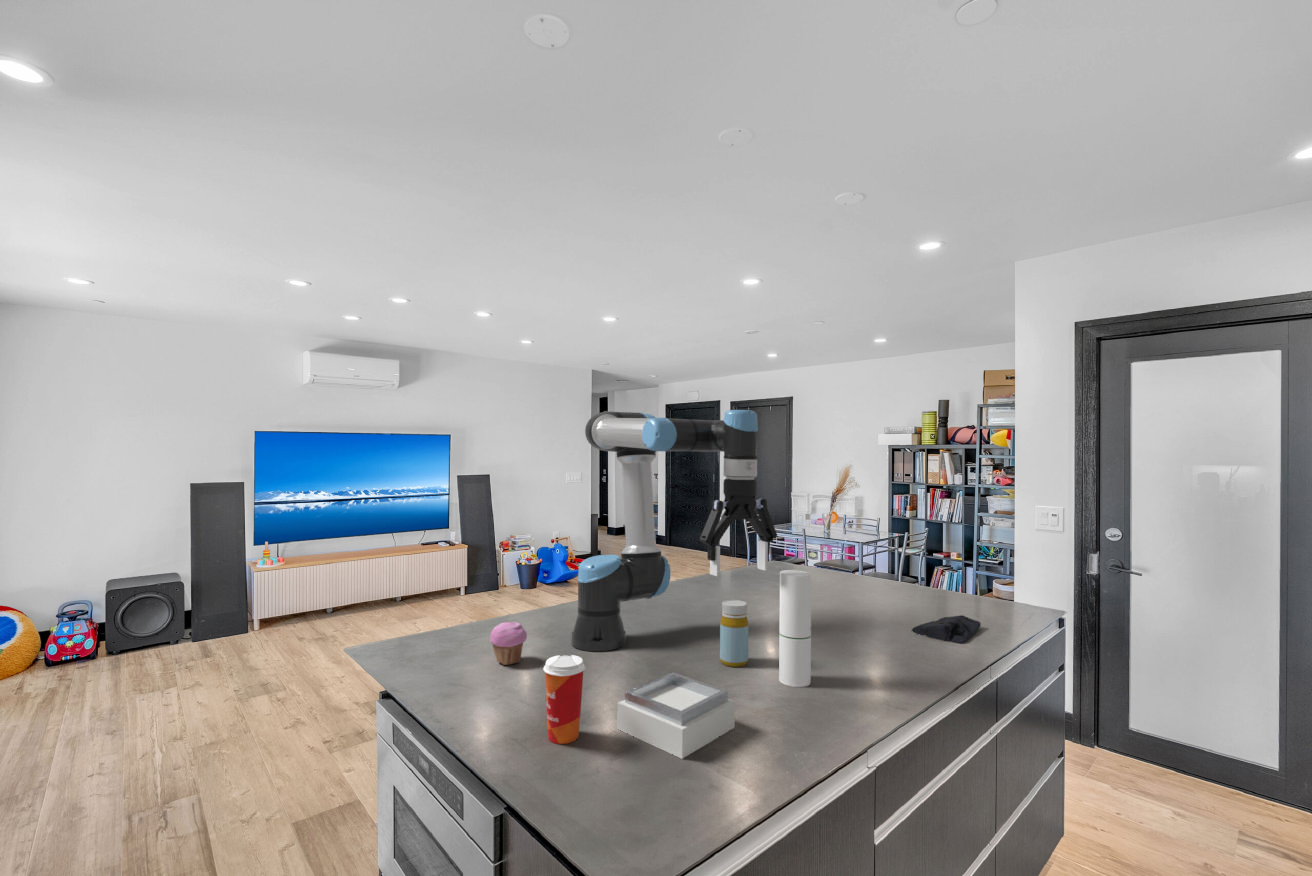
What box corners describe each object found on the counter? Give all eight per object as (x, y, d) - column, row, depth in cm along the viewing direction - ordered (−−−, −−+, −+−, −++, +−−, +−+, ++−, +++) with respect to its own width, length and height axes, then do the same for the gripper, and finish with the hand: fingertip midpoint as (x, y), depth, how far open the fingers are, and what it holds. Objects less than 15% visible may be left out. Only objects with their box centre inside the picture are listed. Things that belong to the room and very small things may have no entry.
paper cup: (544, 727, 113) (545, 653, 113) (585, 726, 114) (586, 653, 114) (540, 748, 105) (541, 668, 106) (583, 746, 106) (584, 668, 106)
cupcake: (532, 662, 148) (533, 622, 148) (502, 671, 141) (503, 629, 141) (512, 654, 154) (513, 615, 154) (482, 662, 147) (483, 622, 147)
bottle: (747, 668, 145) (747, 607, 145) (718, 666, 146) (719, 605, 147) (748, 659, 152) (749, 600, 152) (721, 656, 153) (721, 598, 153)
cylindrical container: (811, 677, 140) (812, 571, 140) (809, 688, 133) (809, 577, 134) (781, 673, 142) (781, 568, 143) (777, 684, 135) (777, 574, 136)
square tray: (617, 728, 113) (617, 691, 113) (671, 702, 125) (671, 669, 125) (682, 758, 102) (682, 717, 102) (734, 727, 114) (735, 690, 114)
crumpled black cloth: (990, 631, 179) (990, 616, 179) (961, 646, 165) (961, 629, 165) (938, 620, 191) (938, 605, 191) (907, 633, 176) (907, 617, 176)
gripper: (704, 479, 125) (703, 581, 124) (793, 478, 137) (792, 570, 137) (685, 478, 131) (683, 574, 131) (771, 476, 144) (770, 564, 143)
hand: (739, 572), depth 134 cm, fingers open, 13 cm apart
